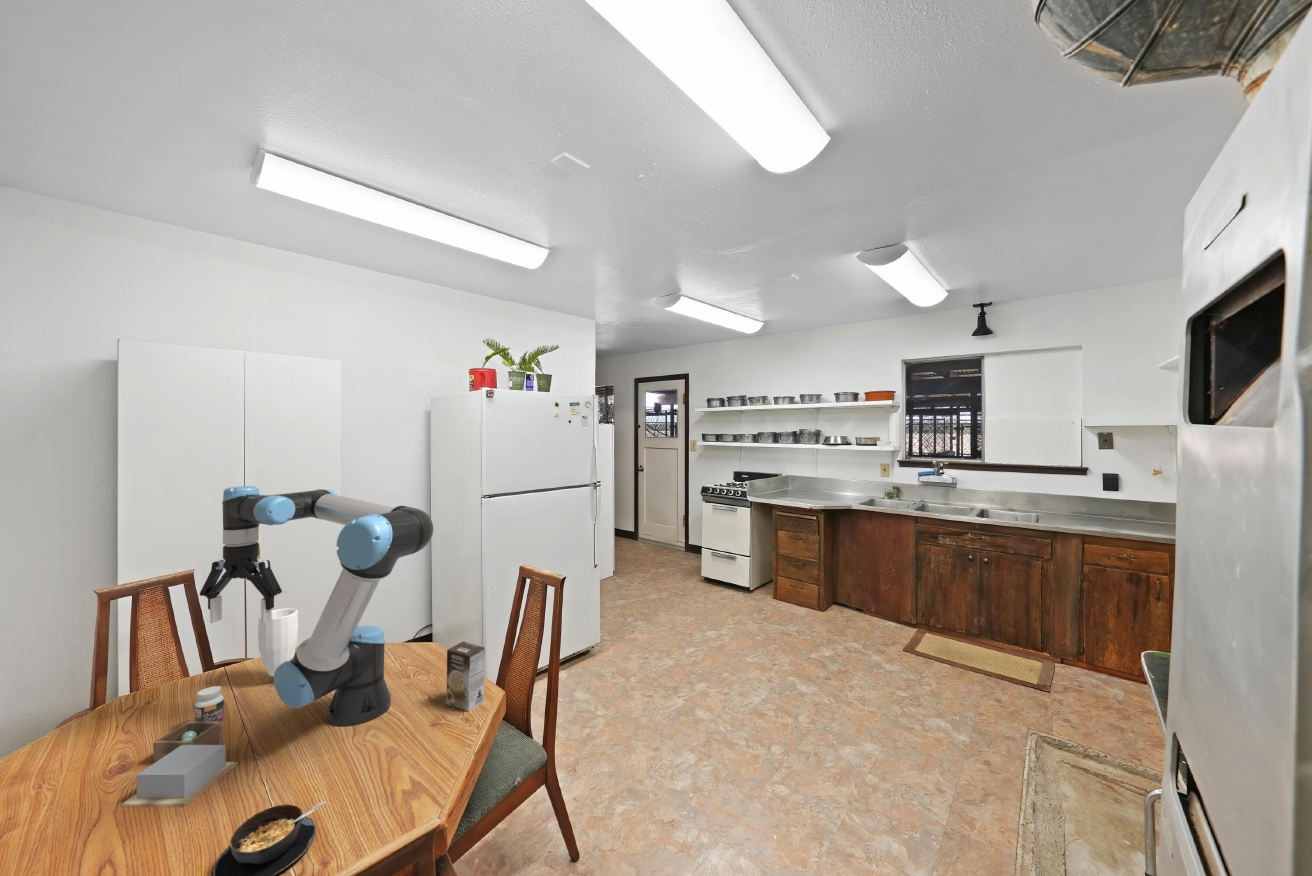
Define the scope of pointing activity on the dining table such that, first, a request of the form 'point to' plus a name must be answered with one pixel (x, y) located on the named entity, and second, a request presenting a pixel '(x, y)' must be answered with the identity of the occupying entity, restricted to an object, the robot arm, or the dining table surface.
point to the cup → (278, 638)
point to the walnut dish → (208, 736)
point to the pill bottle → (210, 705)
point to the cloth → (178, 801)
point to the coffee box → (465, 676)
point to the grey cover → (181, 771)
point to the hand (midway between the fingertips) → (241, 621)
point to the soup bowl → (268, 842)
